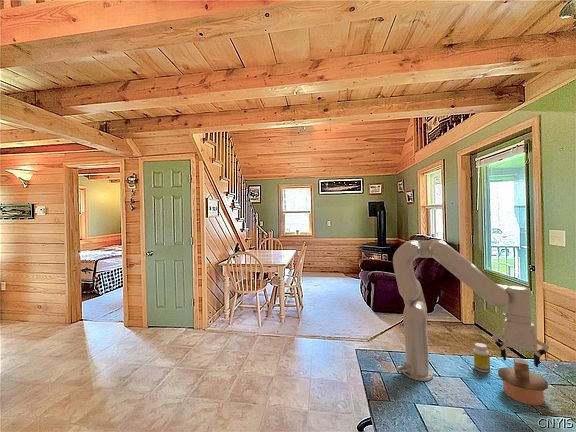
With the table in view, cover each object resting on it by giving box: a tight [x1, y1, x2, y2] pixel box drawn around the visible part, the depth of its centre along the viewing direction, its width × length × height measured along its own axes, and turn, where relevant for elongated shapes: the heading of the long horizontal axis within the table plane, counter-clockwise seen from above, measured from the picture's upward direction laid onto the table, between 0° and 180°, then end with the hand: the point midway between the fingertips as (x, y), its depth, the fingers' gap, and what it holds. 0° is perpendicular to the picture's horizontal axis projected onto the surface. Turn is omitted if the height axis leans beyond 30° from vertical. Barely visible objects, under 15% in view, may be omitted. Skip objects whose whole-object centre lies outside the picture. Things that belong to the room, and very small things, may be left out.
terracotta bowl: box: [502, 380, 545, 406], centre depth 109 cm, size 12×12×6 cm
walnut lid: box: [497, 357, 549, 391], centre depth 109 cm, size 15×15×7 cm
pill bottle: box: [472, 342, 491, 373], centre depth 129 cm, size 6×6×11 cm
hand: (519, 362), depth 110 cm, fingers open, 9 cm apart
